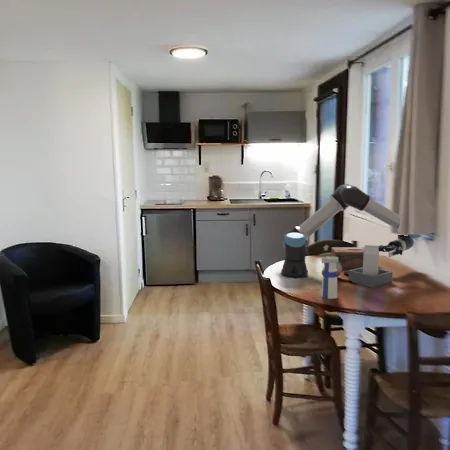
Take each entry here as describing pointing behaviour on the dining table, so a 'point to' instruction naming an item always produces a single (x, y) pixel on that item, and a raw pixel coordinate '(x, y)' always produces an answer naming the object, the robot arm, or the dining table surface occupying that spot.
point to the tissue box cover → (349, 256)
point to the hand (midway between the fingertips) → (377, 253)
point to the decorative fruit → (338, 269)
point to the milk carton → (371, 260)
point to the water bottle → (329, 277)
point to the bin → (370, 277)
